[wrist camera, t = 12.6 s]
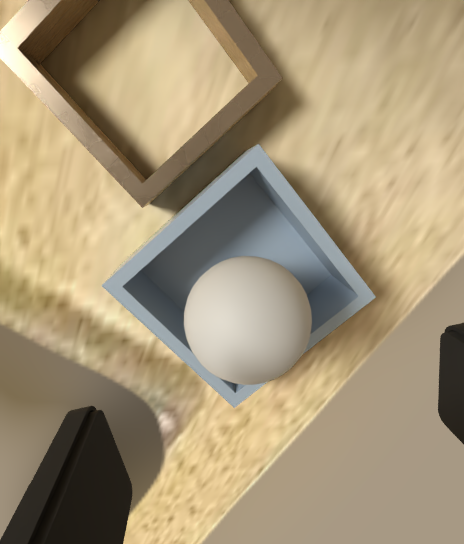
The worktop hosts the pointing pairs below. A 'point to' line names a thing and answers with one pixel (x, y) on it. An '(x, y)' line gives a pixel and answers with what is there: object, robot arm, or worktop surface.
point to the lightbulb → (247, 320)
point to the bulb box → (234, 243)
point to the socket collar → (26, 65)
